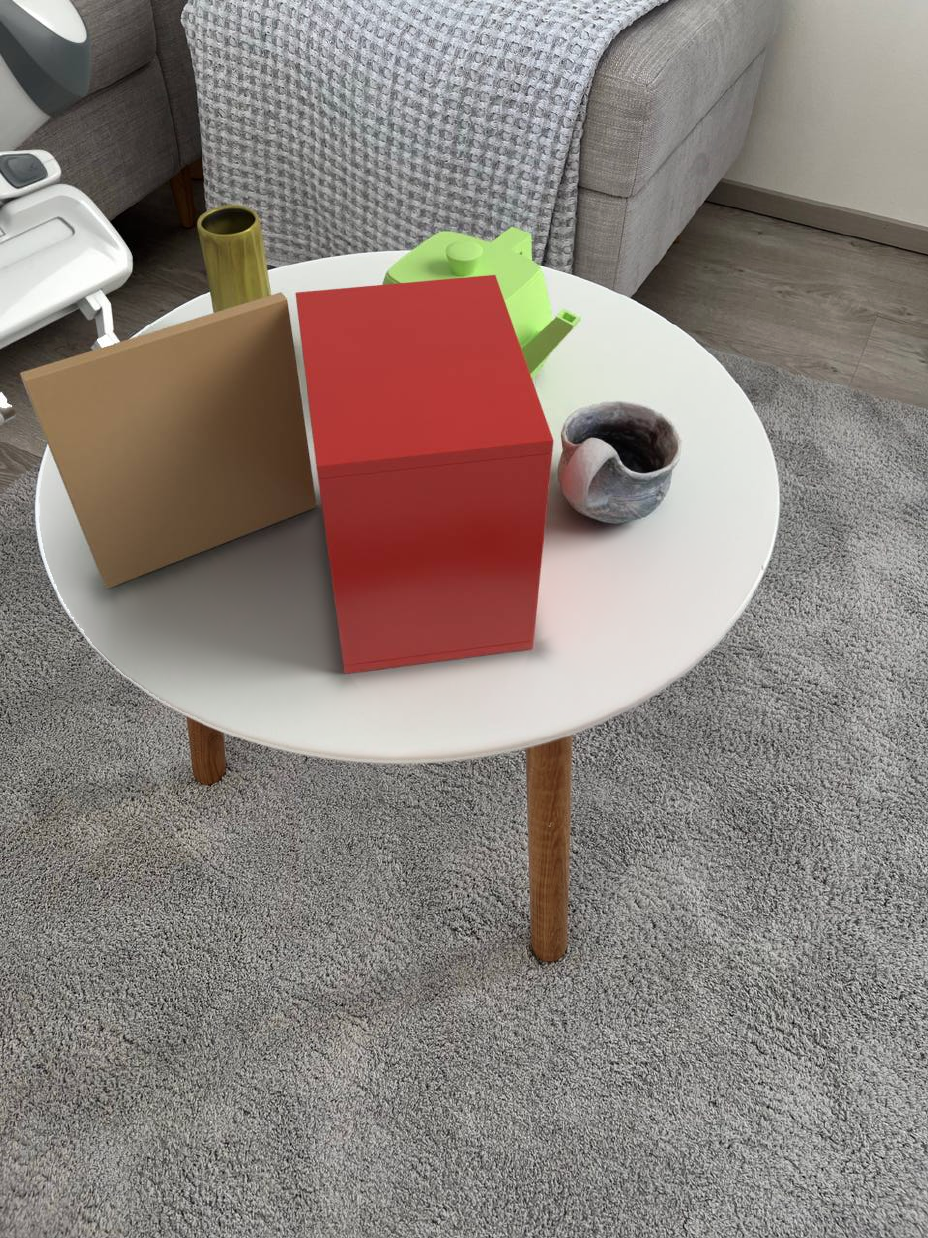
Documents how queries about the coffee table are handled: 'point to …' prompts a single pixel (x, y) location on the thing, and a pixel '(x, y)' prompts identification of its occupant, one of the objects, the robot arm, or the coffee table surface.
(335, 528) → the cabinet
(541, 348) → the teapot
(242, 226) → the vase
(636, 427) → the mug
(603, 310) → the coffee table surface
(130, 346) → the door
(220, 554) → the coffee table surface
